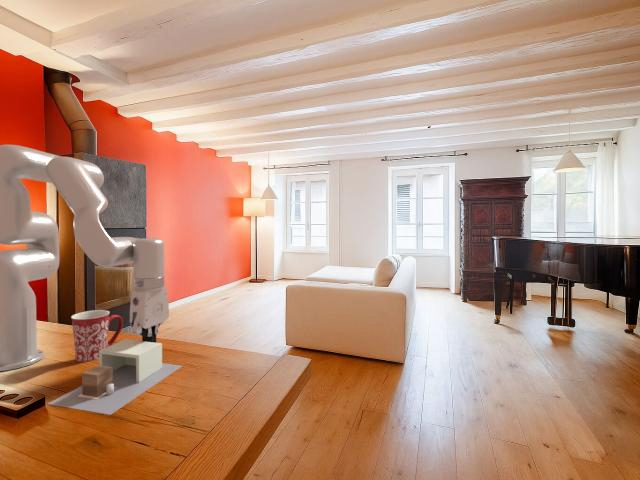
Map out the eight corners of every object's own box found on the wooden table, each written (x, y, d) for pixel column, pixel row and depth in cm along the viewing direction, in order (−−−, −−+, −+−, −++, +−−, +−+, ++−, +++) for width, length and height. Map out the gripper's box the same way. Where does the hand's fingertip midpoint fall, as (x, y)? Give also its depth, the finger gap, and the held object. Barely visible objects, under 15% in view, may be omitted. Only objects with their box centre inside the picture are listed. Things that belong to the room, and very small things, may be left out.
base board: (47, 409, 67) (47, 394, 67) (132, 363, 90) (132, 352, 90) (110, 420, 64) (110, 405, 64) (182, 370, 86) (182, 358, 86)
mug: (77, 370, 85) (76, 320, 84) (67, 360, 91) (67, 314, 90) (128, 355, 95) (128, 311, 94) (117, 348, 100) (117, 306, 100)
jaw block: (97, 397, 70) (97, 375, 70) (82, 394, 71) (82, 372, 71) (112, 388, 74) (112, 367, 74) (98, 386, 75) (98, 365, 74)
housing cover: (99, 376, 79) (99, 350, 79) (125, 363, 87) (125, 339, 87) (139, 382, 77) (139, 355, 76) (162, 368, 85) (162, 343, 84)
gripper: (140, 289, 79) (140, 361, 80) (178, 279, 94) (178, 340, 94) (114, 287, 80) (115, 358, 81) (156, 278, 95) (156, 338, 96)
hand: (149, 348), depth 88 cm, fingers closed
